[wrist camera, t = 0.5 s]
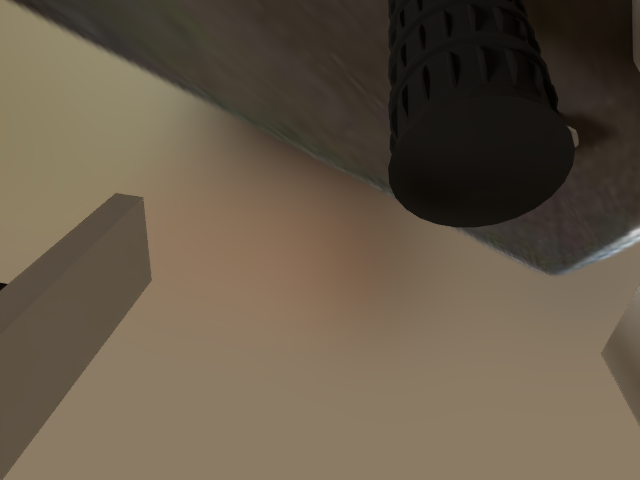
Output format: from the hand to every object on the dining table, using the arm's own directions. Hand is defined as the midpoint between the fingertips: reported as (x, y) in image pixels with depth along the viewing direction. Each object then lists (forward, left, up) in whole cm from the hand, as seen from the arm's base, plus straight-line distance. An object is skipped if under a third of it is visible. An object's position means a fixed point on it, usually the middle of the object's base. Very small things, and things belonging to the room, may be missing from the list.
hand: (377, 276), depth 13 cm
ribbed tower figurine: (+4, +3, -32) cm, 33 cm away
